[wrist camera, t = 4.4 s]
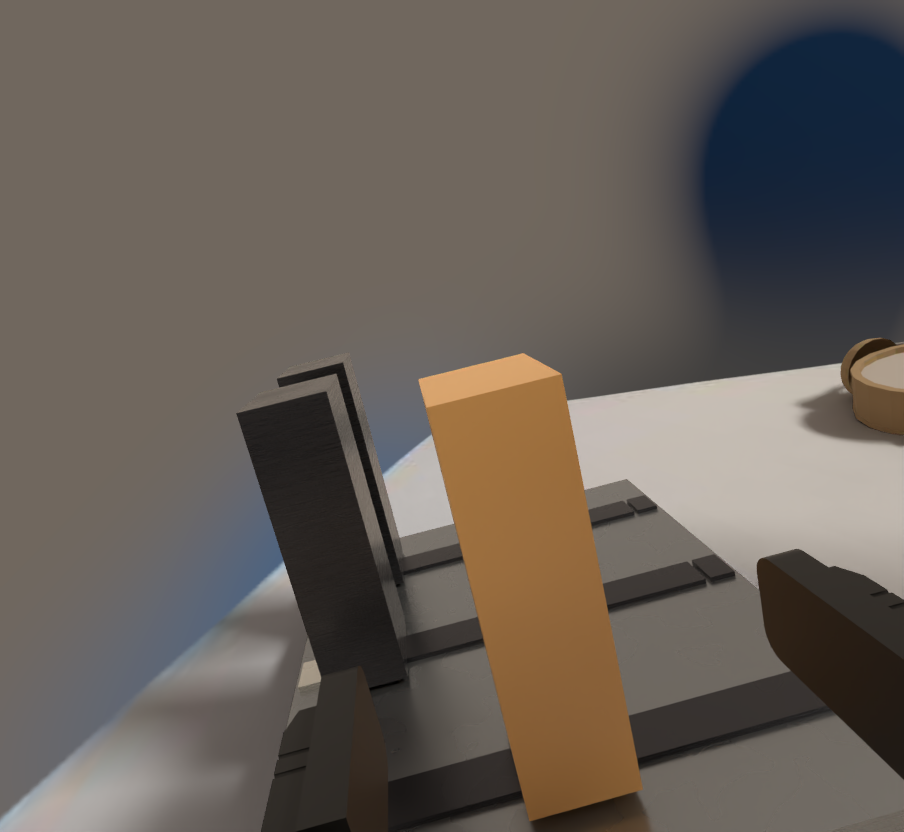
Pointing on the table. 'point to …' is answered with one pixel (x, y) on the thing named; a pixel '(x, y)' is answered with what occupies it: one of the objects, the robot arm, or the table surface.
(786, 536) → the table surface
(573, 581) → the orange rectangular block
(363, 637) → the grey slotted base
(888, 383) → the alarm clock
